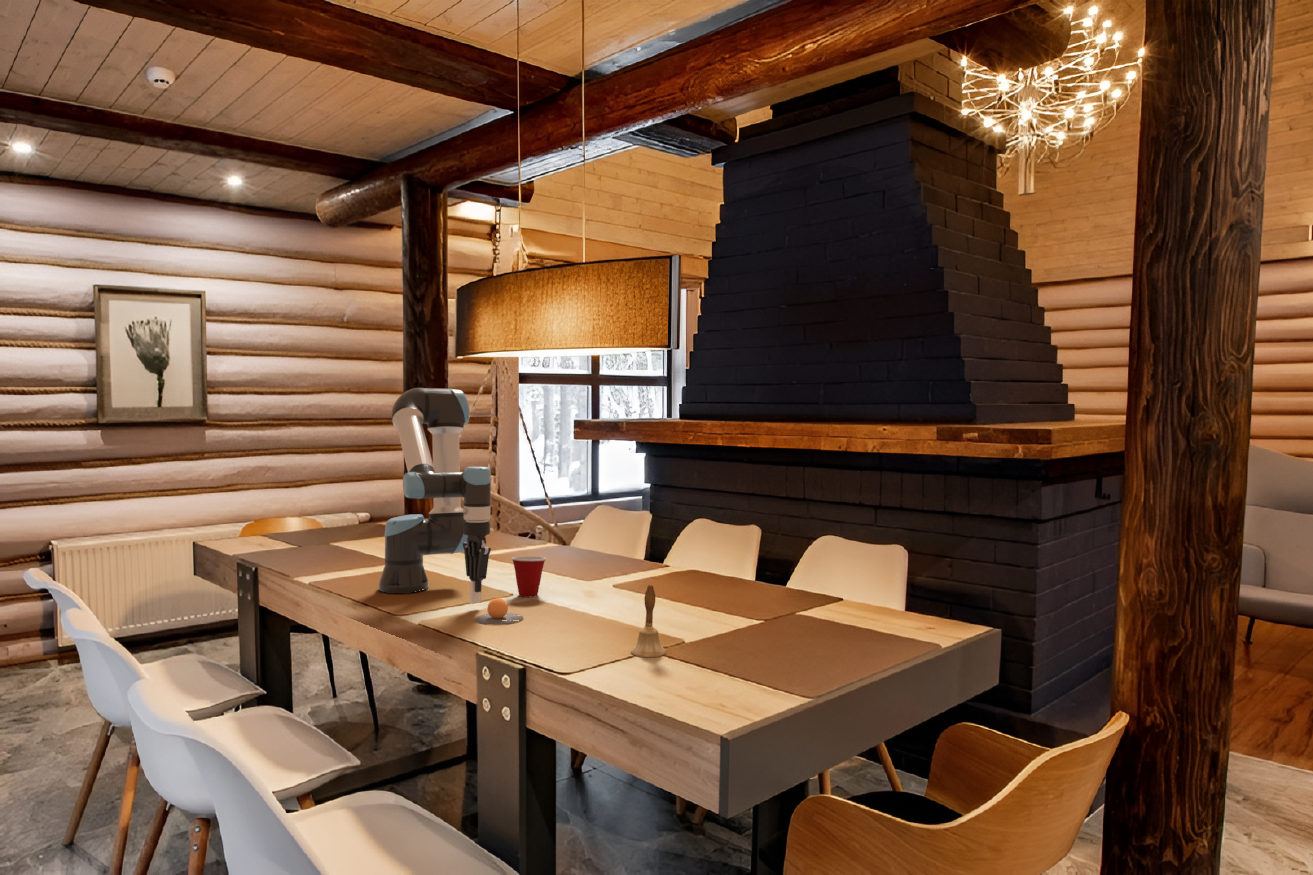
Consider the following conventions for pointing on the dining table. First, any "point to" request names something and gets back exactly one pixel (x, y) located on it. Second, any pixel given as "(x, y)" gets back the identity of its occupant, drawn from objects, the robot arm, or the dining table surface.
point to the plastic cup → (528, 574)
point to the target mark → (490, 620)
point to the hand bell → (648, 631)
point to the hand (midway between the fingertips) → (475, 602)
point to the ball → (497, 608)
